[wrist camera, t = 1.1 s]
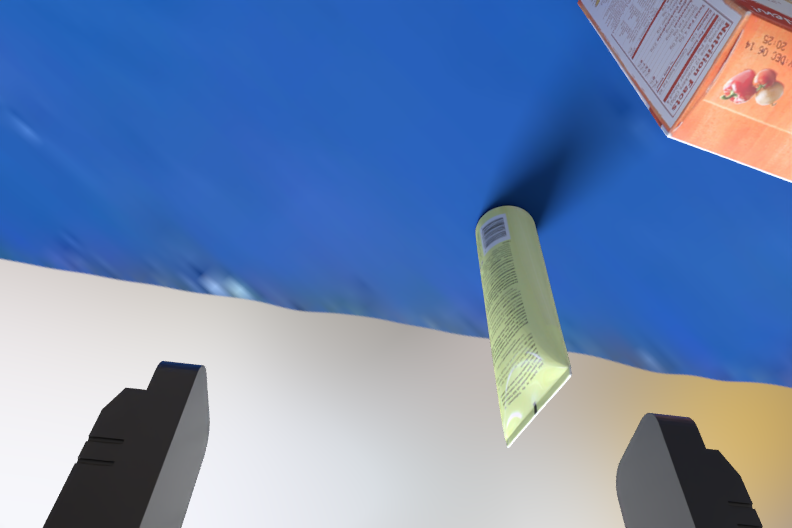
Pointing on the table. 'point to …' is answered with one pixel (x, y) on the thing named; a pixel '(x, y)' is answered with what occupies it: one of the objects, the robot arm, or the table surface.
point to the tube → (519, 317)
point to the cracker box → (709, 72)
